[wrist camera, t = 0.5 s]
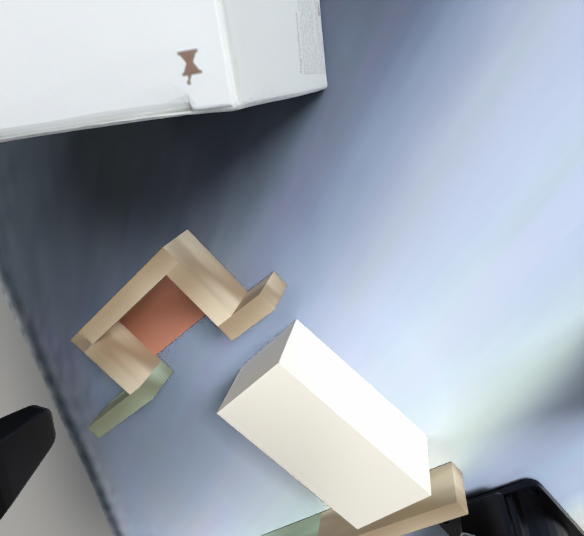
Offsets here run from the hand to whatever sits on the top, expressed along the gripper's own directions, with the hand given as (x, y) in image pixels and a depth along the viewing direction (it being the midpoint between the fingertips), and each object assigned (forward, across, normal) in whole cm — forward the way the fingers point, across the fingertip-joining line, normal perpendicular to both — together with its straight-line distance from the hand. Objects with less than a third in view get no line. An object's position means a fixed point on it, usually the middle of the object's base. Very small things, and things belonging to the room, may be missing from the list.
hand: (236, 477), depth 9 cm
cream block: (+13, -1, +9) cm, 16 cm away
